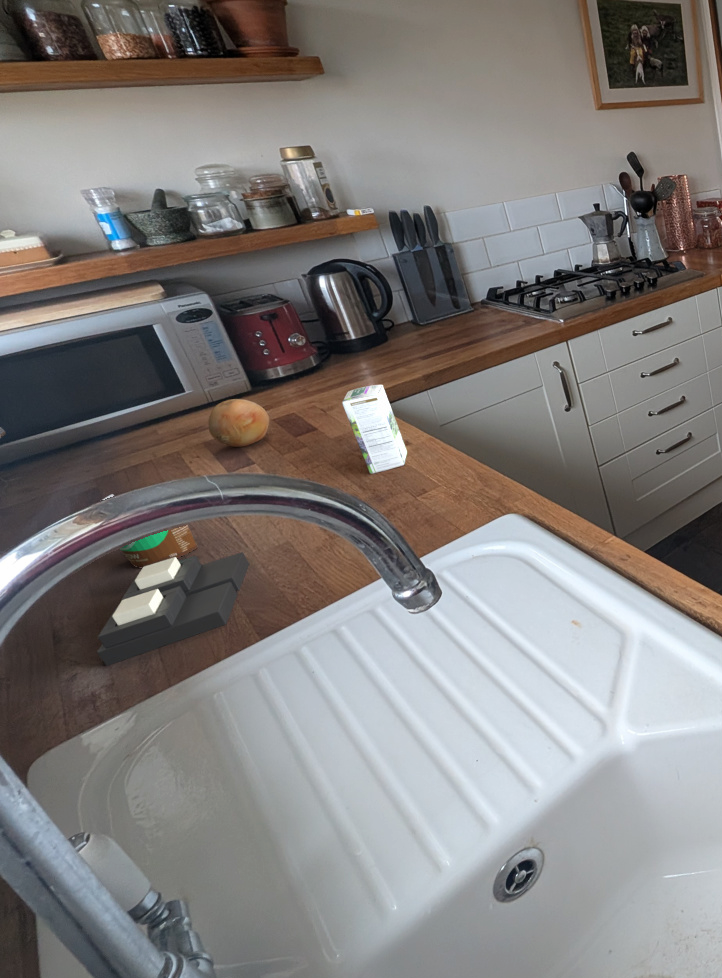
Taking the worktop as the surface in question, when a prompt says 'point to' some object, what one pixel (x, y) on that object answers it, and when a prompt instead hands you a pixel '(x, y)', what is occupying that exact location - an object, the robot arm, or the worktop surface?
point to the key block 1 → (200, 576)
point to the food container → (159, 546)
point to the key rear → (158, 573)
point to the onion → (238, 422)
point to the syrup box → (375, 428)
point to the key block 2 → (167, 622)
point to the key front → (138, 607)
